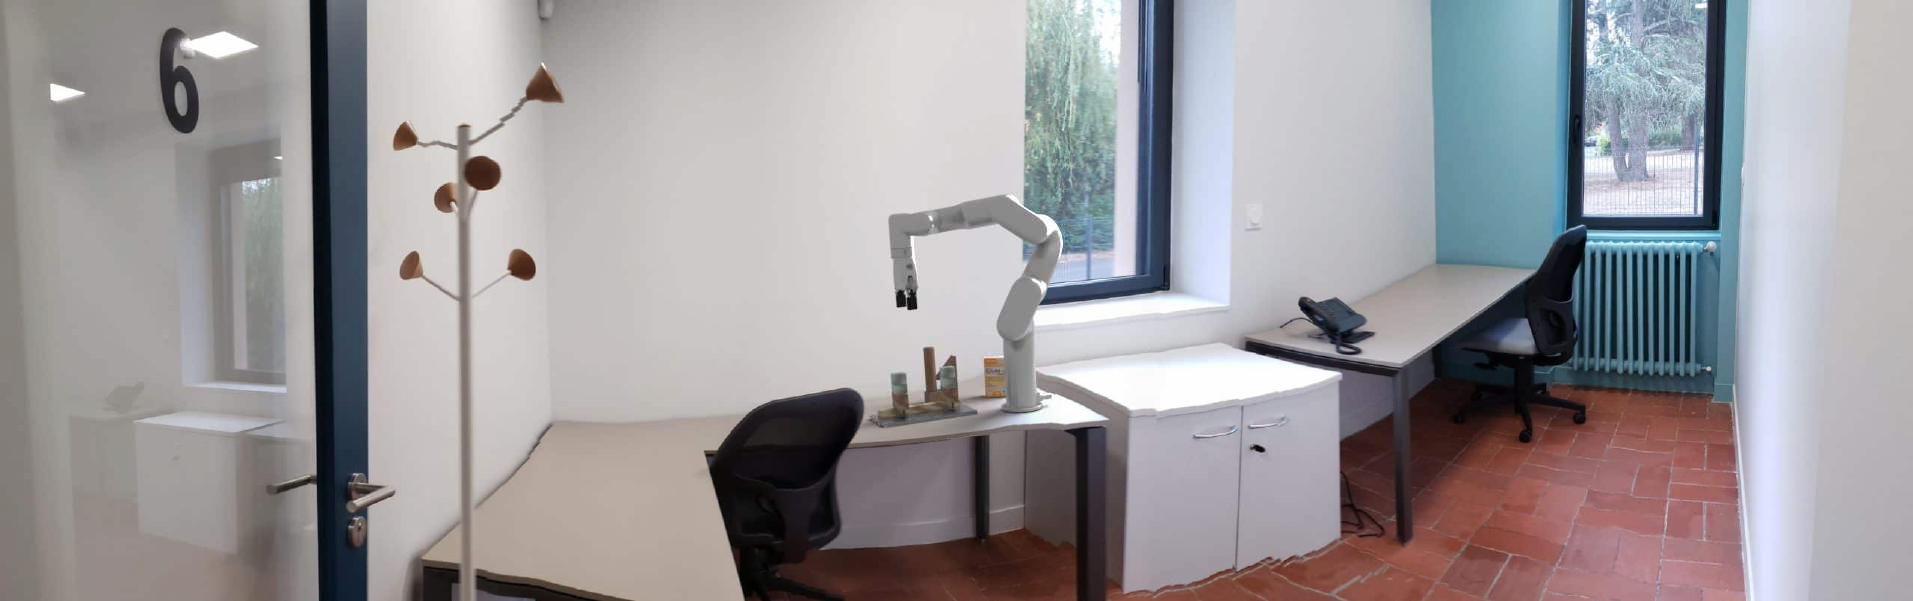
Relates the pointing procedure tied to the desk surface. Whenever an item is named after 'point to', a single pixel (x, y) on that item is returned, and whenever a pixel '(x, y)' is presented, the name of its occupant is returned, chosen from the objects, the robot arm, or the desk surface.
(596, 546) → the desk surface
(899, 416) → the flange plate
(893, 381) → the sliding leg
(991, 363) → the supplement box
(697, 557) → the desk surface
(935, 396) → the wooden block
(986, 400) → the desk surface
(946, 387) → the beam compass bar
